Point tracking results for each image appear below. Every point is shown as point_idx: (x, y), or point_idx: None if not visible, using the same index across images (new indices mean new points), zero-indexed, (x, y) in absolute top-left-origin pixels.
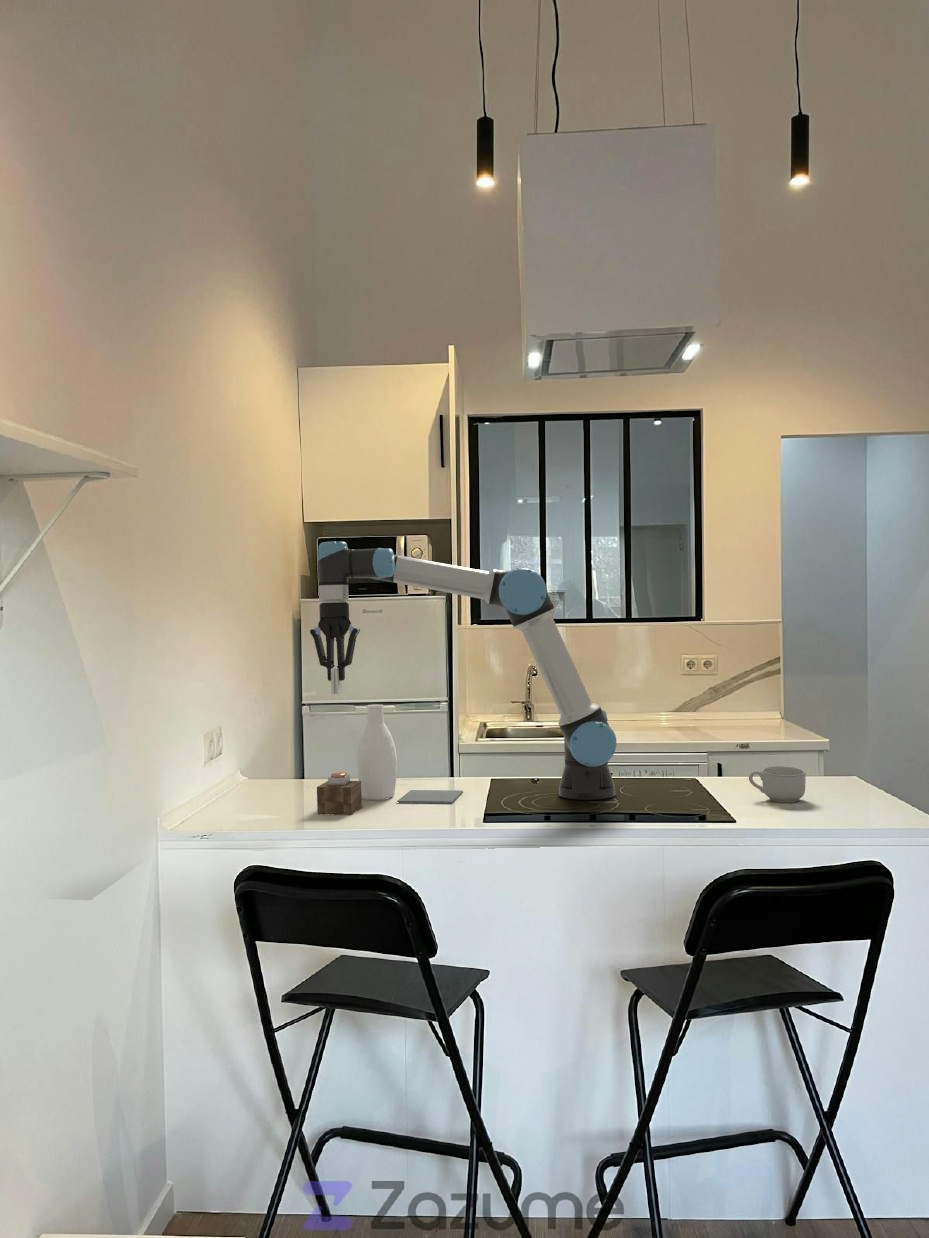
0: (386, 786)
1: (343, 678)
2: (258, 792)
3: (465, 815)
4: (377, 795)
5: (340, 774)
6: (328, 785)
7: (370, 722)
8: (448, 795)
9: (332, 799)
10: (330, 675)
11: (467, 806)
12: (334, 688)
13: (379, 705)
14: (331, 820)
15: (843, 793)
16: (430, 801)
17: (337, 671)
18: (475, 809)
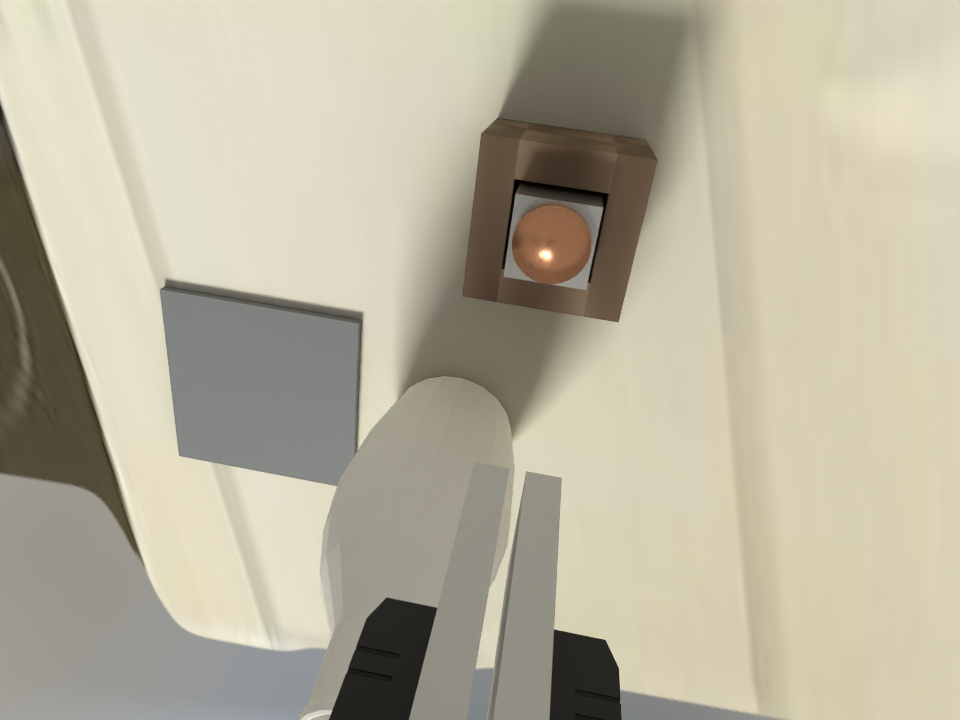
0: (398, 401)
1: (366, 627)
2: (921, 564)
3: (54, 76)
4: (438, 379)
5: (540, 226)
6: (601, 198)
7: None
8: (202, 387)
9: (577, 139)
10: (567, 703)
11: (100, 237)
12: (518, 523)
13: None
14: (567, 7)
15: None
16: (237, 301)
17: (417, 712)
18: (56, 183)
